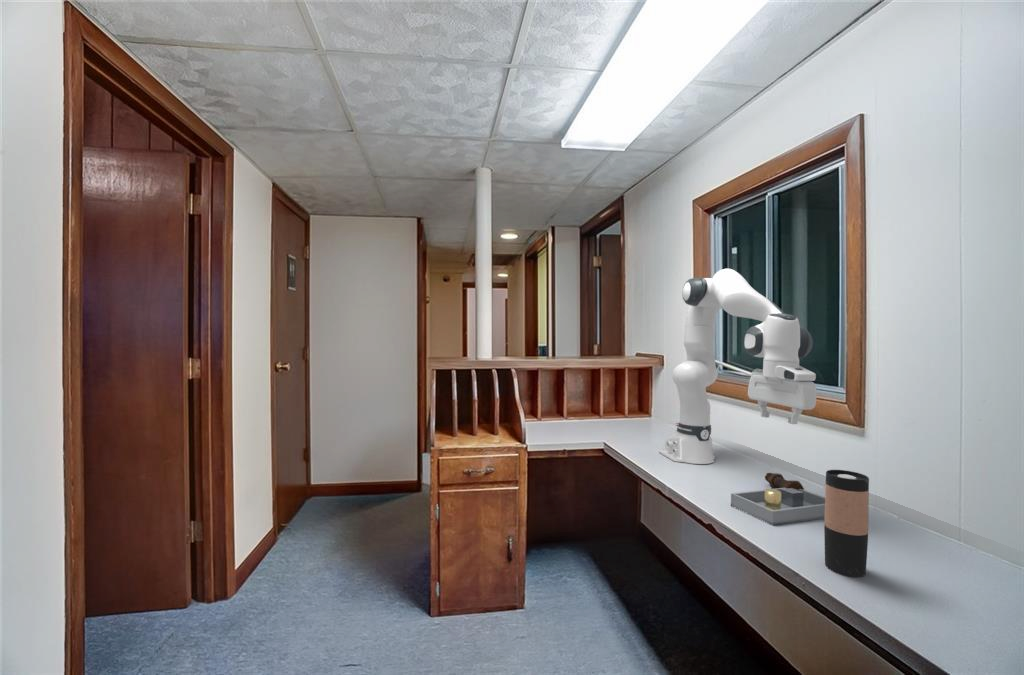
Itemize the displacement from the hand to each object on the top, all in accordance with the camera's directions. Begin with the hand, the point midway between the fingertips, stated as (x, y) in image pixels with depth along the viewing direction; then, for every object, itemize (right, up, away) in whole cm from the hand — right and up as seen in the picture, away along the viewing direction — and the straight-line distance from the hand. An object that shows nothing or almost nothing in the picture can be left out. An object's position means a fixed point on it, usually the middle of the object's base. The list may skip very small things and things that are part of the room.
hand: (778, 420), depth 136 cm
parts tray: (+2, -25, 0) cm, 25 cm away
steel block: (+6, -25, +3) cm, 26 cm away
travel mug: (-4, -26, -34) cm, 43 cm away
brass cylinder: (-4, -25, -4) cm, 25 cm away
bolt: (+10, -25, +16) cm, 31 cm away
